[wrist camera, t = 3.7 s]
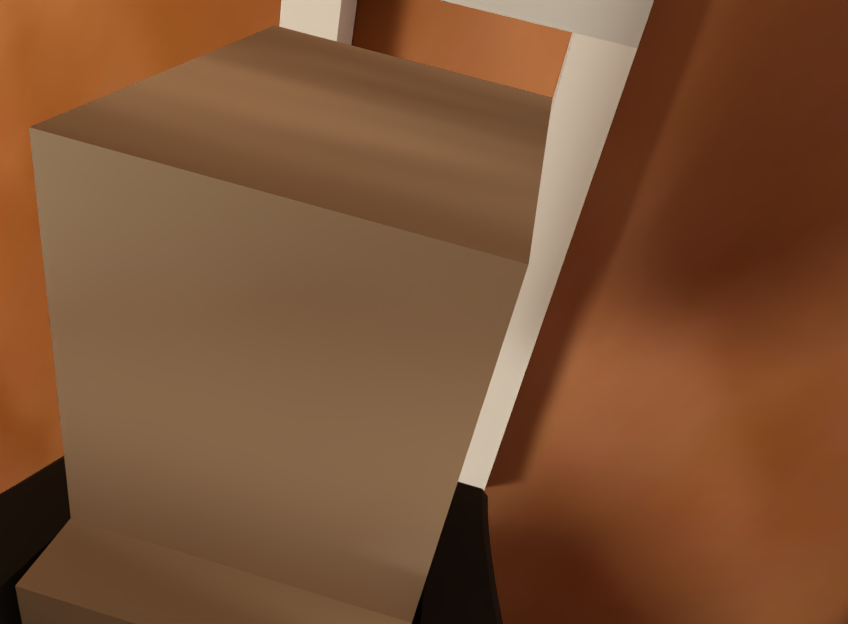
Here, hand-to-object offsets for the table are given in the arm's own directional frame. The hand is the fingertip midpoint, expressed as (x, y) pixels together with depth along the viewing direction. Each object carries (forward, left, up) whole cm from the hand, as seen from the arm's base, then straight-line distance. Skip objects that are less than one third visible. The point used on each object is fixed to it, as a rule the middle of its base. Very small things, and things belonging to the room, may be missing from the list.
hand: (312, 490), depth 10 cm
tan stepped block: (0, 0, -2) cm, 2 cm away
